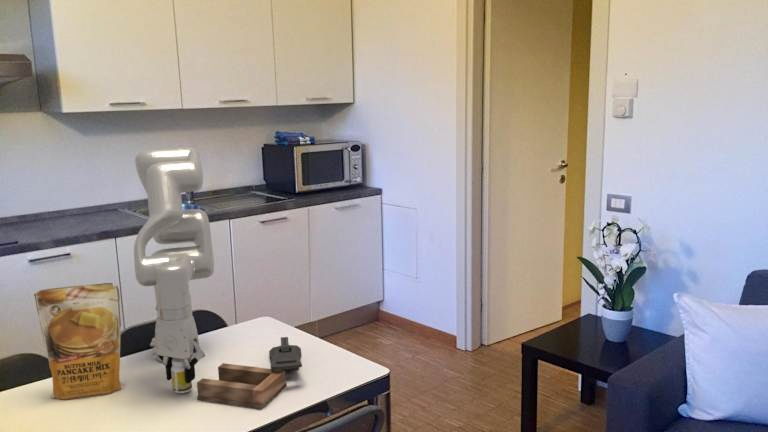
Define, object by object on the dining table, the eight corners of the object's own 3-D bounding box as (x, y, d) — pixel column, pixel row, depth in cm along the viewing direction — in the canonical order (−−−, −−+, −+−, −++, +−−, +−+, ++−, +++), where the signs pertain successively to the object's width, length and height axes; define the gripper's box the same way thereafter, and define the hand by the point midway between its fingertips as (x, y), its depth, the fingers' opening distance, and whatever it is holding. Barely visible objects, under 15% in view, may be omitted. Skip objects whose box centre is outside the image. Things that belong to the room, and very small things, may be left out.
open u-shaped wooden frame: (197, 400, 161) (195, 383, 160) (225, 378, 173) (224, 362, 173) (262, 409, 156) (261, 392, 155) (286, 386, 168) (285, 369, 167)
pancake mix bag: (50, 391, 168) (36, 287, 163) (129, 381, 173) (118, 279, 168) (44, 403, 162) (30, 295, 156) (126, 392, 167) (115, 287, 161)
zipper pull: (268, 367, 164) (268, 332, 188) (269, 392, 165) (269, 353, 189) (304, 364, 165) (299, 329, 190) (305, 388, 167) (300, 351, 191)
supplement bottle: (196, 386, 168) (193, 356, 166) (184, 395, 164) (182, 364, 162) (180, 383, 169) (177, 353, 168) (168, 392, 165) (166, 361, 163)
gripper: (136, 313, 161) (143, 381, 165) (195, 320, 156) (201, 390, 160) (155, 303, 168) (161, 368, 172) (213, 309, 163) (218, 377, 167)
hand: (181, 378), depth 166 cm, fingers closed on supplement bottle, 4 cm apart
